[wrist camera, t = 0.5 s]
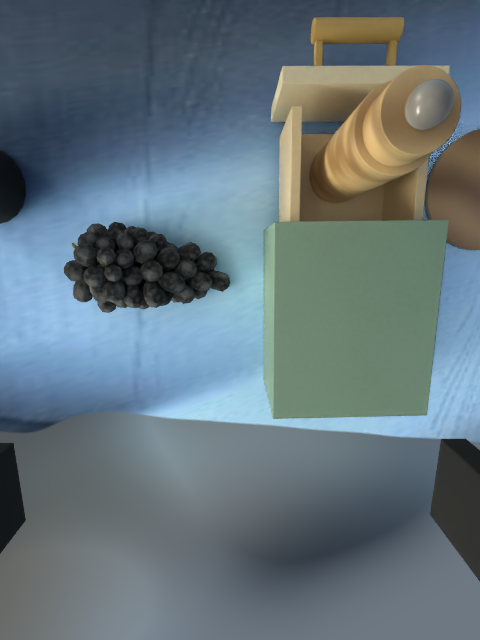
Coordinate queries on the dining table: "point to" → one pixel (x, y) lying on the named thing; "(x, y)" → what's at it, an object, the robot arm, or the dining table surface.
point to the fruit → (139, 269)
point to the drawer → (336, 106)
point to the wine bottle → (10, 188)
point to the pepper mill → (388, 134)
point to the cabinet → (351, 316)
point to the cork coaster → (457, 191)
